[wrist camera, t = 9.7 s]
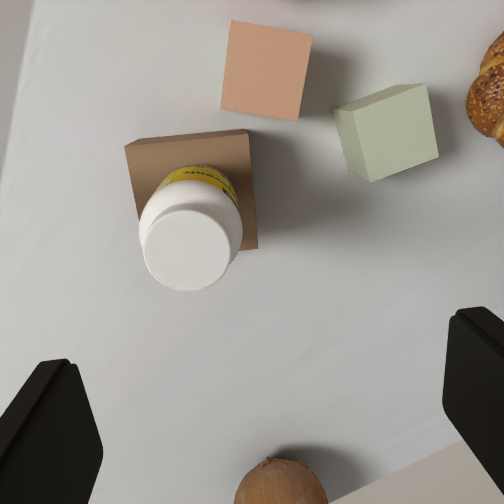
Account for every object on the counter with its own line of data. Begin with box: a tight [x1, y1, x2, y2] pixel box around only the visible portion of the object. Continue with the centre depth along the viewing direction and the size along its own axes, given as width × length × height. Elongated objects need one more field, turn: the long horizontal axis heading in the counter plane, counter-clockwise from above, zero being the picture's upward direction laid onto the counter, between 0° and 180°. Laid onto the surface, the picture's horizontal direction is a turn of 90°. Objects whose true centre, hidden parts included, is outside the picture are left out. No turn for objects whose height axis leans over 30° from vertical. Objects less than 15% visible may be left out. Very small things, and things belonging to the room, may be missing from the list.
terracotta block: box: [220, 20, 313, 121], centre depth 27 cm, size 5×5×5 cm
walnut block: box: [124, 129, 258, 251], centre depth 29 cm, size 8×8×5 cm
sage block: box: [332, 83, 439, 183], centre depth 29 cm, size 5×5×5 cm
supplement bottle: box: [139, 164, 243, 292], centre depth 22 cm, size 5×5×10 cm
